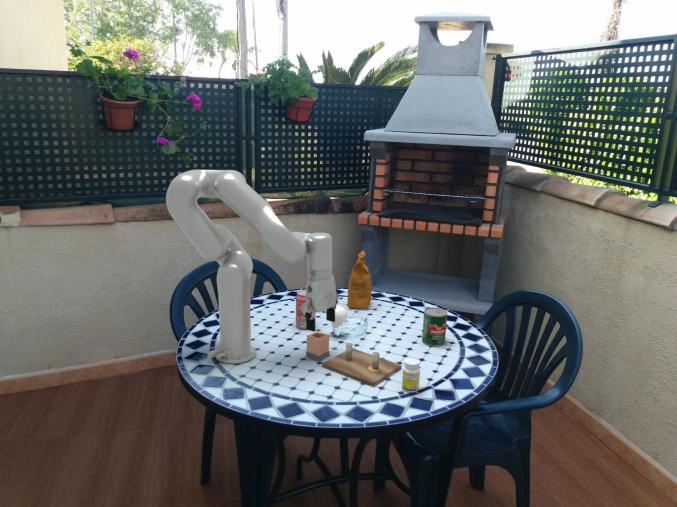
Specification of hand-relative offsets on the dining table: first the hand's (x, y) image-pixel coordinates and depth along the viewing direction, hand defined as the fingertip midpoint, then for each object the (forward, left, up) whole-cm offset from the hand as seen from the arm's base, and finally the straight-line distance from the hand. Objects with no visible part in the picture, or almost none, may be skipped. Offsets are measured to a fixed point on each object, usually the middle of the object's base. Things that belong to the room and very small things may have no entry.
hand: (320, 325), depth 164 cm
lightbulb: (+16, +6, -11) cm, 20 cm away
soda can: (+15, +20, -11) cm, 27 cm away
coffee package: (+47, +19, -11) cm, 52 cm away
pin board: (+2, -15, -10) cm, 18 cm away
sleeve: (-1, +1, -10) cm, 10 cm away
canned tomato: (+34, -22, -11) cm, 42 cm away
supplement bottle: (0, -33, -11) cm, 35 cm away
